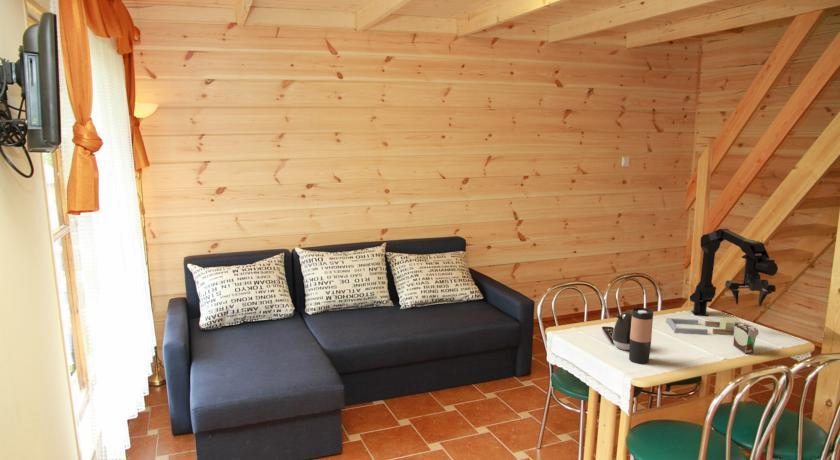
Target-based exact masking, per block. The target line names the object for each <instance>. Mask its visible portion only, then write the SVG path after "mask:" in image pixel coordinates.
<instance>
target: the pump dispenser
mask: <svg viewBox="0 0 840 460" xmlns="http://www.w3.org/2000/svg"><path fill="white" fill-rule="evenodd" d="M615 317H616V318H617V319H616V321H615V324H614V327H613V330H612V335H611V339H612V341H613V344H614V346H615V347H617V348H618V349H620V350H623V351H629V348H630V332H631V320H632V312H629V311H623V312H622V313H621V314H620V315H619V314H616V316H615Z"/></svg>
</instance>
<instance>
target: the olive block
mask: <svg viewBox="0 0 840 460" xmlns="http://www.w3.org/2000/svg"><path fill="white" fill-rule="evenodd" d="M719 322H720V327H718V329H729V330H734V322H741V323H743V322H742V321H740V319H738V318H734V317H732V318H731V317H720V319H719Z"/></svg>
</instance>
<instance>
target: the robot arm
mask: <svg viewBox="0 0 840 460" xmlns="http://www.w3.org/2000/svg"><path fill="white" fill-rule="evenodd" d="M724 241H727V242H729V243H731V244H733V245H734V246H737V247H739V249H740V250H741V252H743V253H744V255H742V256H741V259H745V262H744V270H743V271H742V274H743V279H742V280H741V282H742V283H741V282H738V281H737V280H730V279H727V280H726V281H725V282H724V284H725V285H724V286H725V288H727V289H728V290H729V291H731V293H732V296H733V299H734V301H735V304H736V305H738V304H739V293H740V290H739V288H740V289H741V288H744V289H745V288H746V289H749V291H752V292H756V291H757V292H759V295H758V306H759V307H761V306H762V304H763V302H764V300H765V299H766V297H767V296H768V295H770V294H772V293H776V292H777V290H776V289H777V287H776V285H775V284H773V283H772V282H769V280H768V279H761V274H763V275H767V276H775V275H776V274H777V272H778V270H779V267H778V264H777V263H776V262H775V261H776V260H775V259H771V258H770V255H769V253H768V252H767V248H766V247H765V244H764V243H763V242H762V241H759V240H754V239H749V238H746V237H744V236H742V235H740V234H738V233H736V232H734V231H732V230H730V229H728V228H718V229H716V230H715V231H711V232H709V233H706V234H702V235H701V236H700V248H701V250H702V251H703V252H702V253H703V254H702V263H701V264H702V265H701V271H700V280H699V282H698V283H697V285H696V286H695V290H694V292H692V294H691V295H689V301H690V302H693V309H692V310H691V309H690V312H691V313H692V314H693V315H694V316H706V317H707V316H708V317H709V316H710V315H709V313H708V312H707V308H708V303H712V302H713V299H714V298H715V296H716V295H717V294H716V291H717V287H716V286H714V284H713V276H714V275H713V274H714V267H715V258H716V253H717V252H718V250H719V249H720V246H721V243H723V242H724Z"/></svg>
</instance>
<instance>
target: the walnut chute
mask: <svg viewBox="0 0 840 460" xmlns="http://www.w3.org/2000/svg"><path fill="white" fill-rule="evenodd" d="M704 326H705V327H708V328H709V327H713V328H712V334H713V335H724V336H734V330H729V329H720V328H719V327H720V321H711V320H710V321H709V320H706V321H705V320H704Z"/></svg>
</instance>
